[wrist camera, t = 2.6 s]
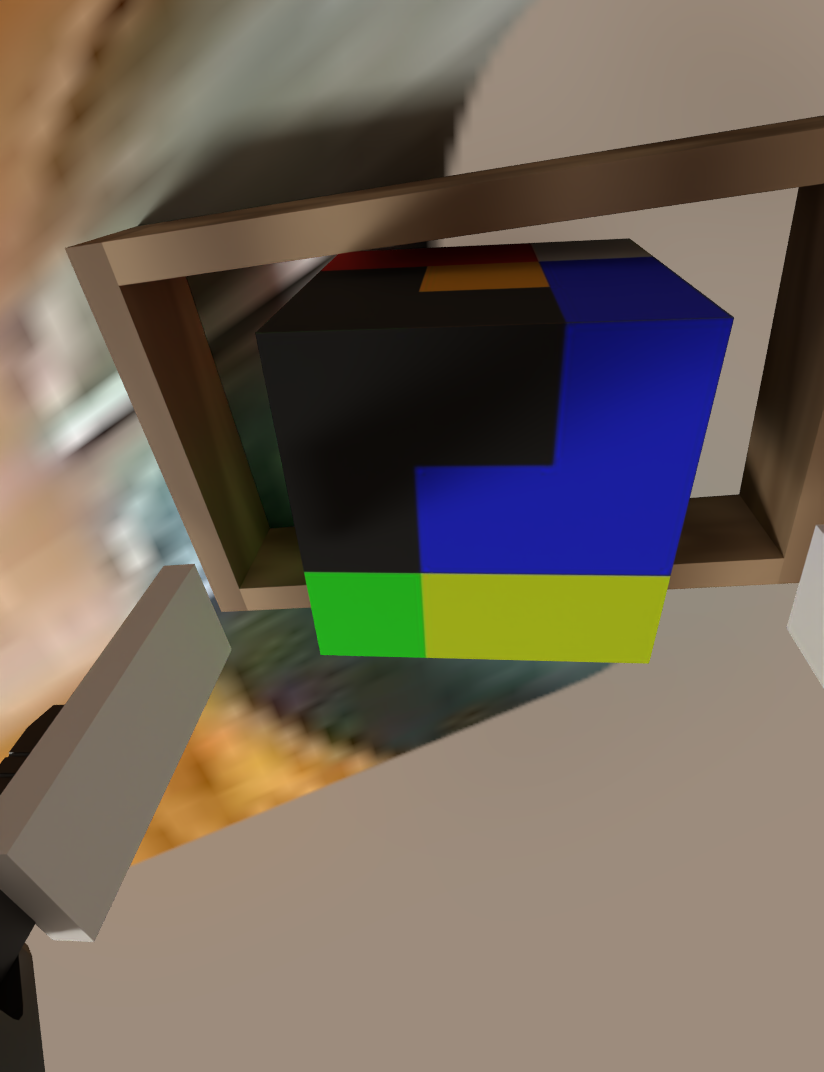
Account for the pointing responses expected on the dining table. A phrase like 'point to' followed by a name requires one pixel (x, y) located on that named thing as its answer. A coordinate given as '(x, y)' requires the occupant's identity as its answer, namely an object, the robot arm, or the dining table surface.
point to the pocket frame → (450, 211)
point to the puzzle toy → (492, 445)
